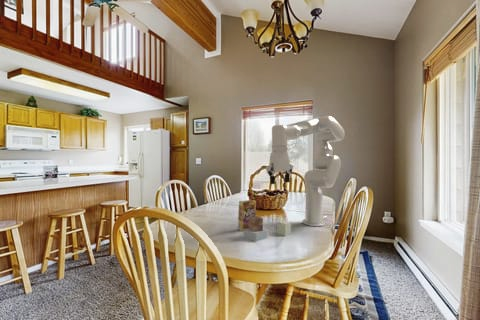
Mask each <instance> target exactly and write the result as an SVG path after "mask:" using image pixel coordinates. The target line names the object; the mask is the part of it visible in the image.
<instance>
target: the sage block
mask: <svg viewBox="0 0 480 320" xmlns="http://www.w3.org/2000/svg"><path fill="white" fill-rule="evenodd" d="M276 225H277V226H276V234H277V235H280V236H283V235H284V237H286V235H287V236H289V235H291V234H292V222H291V221H287V220H284V219H282V220H279V221H277V222H276Z"/></svg>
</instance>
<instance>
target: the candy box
mask: <svg viewBox="0 0 480 320" xmlns="http://www.w3.org/2000/svg"><path fill="white" fill-rule="evenodd" d="M256 211H257V200H254V199H249V200H239V201H238V212H237V213H238V214H237V215H238V217H237V218H238V219H237V230H238V231H240V232H244V230H245V229H248V228H249V217H250V216H257V212H256Z"/></svg>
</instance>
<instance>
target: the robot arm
mask: <svg viewBox="0 0 480 320" xmlns="http://www.w3.org/2000/svg"><path fill="white" fill-rule="evenodd" d="M345 133H346V132H345V129H344V128H343V126H342V125H341V124H340V123H339V122H338V121H337V120H336V119H335V118H334V117H332V116H331V115H325V116H320V117H314V118H310V119H306V120H302V121H297V122H294V123H290V124H289V123H288V124H286V125H284V124H276V125H275V124H274V125H272V127H271V152H270V154H269V165H267V166H266V167H265V168H264V169H265V171H266V173H267V174H268V176H269V183H270V184H271V185H276V176H275V174H276V173H282V172H284V182H286V183H290V182H291V178H290V177H291V174H292V172H293V169H294V165H293V164H291V163H290V156H289V152H288V149H289V147H288V141H293V140H297V139H299V138H300V137H306V136H309V135H312V134H316V136H315V137H316V140H317V144H318V150H317V153H316V155H315V158H314V159H313V161H312V162H313V163H312V168H314V169H311V170H308V171H306V172H305V173H304V176H303V178H304V179H303V180H304V184H305V185H304V186H305V207H304V208H305V212H304V213H305V214H304V215H305V217H304V219H302V224H304V225H306V226H310V227H323V226H325V225H326V223H325V221H324V220H327V219H328V216H327V215H323V199H324V198H323V196H324V195H323V191H322V189H321V188H325V189H326V188H327V189H329V188H332V187H333V186H335V183H336V180H337V179H338V175H339V174H340V171H341V168H342V167H341V166H342V161H341V159H340V157H339V156H338V155H333V153H334V150H333V147H332V145H331V144H330V142H331V143H332V142H341V141H342V140H344V139H345V136H346V135H345Z"/></svg>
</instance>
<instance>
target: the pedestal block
mask: <svg viewBox="0 0 480 320" xmlns="http://www.w3.org/2000/svg"><path fill="white" fill-rule="evenodd" d="M243 238H244V239H247V240H250V241H253V242H255V241H256V242H259V241H262V240H265V239H268V229H264V228H263V231H257V232H253V231H251V230H250V229H249V228H248V229H245V230H244V231H243ZM256 242H255V243H256Z"/></svg>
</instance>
